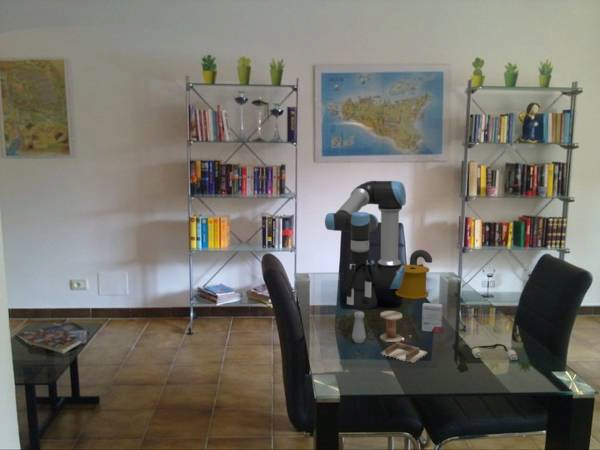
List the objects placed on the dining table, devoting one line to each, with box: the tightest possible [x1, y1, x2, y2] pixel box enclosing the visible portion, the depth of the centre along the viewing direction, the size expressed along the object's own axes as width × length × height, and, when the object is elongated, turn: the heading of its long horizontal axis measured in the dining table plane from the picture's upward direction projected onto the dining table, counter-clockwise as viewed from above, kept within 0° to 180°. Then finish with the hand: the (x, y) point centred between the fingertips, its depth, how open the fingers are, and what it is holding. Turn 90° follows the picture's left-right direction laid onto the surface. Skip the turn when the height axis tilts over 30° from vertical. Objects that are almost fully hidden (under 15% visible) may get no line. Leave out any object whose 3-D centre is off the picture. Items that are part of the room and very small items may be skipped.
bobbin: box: [379, 310, 403, 343], centre depth 210 cm, size 9×9×11 cm
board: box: [380, 342, 428, 364], centre depth 195 cm, size 14×12×3 cm
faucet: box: [409, 249, 433, 266], centre depth 302 cm, size 18×16×20 cm
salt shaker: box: [351, 310, 367, 345], centre depth 207 cm, size 6×6×13 cm
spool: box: [395, 264, 430, 300], centre depth 276 cm, size 18×18×15 cm
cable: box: [471, 343, 519, 361], centre depth 197 cm, size 16×16×4 cm
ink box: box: [421, 302, 443, 333], centre depth 221 cm, size 9×5×12 cm, turn 71°
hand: (359, 300), depth 205 cm, fingers open, 13 cm apart
